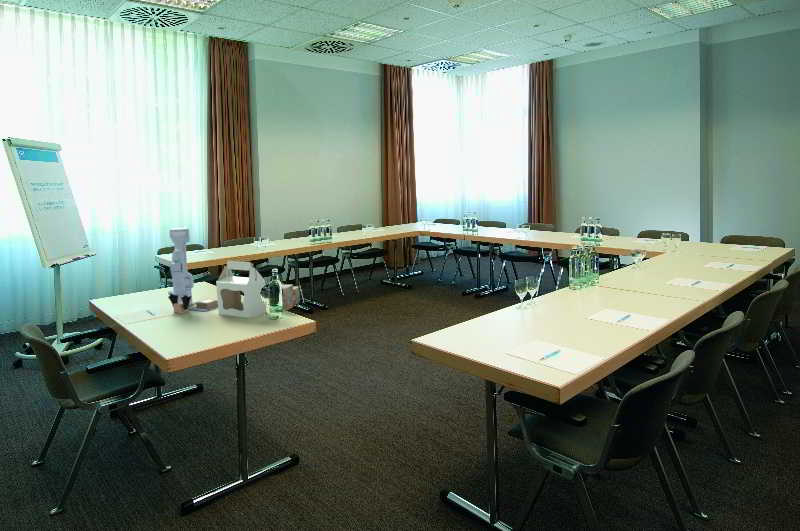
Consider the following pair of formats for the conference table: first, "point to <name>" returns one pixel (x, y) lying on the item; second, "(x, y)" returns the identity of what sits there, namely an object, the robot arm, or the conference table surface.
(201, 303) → the plate
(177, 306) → the terracotta cube
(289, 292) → the white printed box
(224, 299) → the gable box
